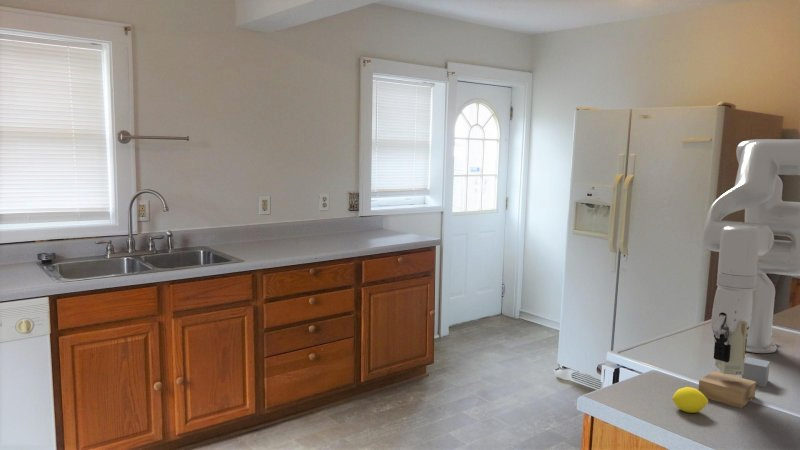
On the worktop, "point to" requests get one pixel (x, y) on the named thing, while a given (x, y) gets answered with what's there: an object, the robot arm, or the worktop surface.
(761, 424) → the worktop surface
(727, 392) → the oak block
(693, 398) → the lemon
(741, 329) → the skincare box
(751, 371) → the grey block
